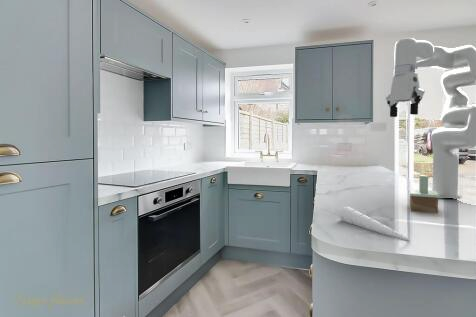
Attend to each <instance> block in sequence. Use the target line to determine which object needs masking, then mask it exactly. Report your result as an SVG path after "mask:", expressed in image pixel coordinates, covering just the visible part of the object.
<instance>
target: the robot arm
mask: <svg viewBox="0 0 476 317" xmlns="http://www.w3.org/2000/svg"><path fill="white" fill-rule="evenodd" d="M393 60H394V64H393V65H394V67H393V69H394V70H393V77H392V80H391V87H390V94H389V95H387V96H386V97H385V100H386V103H387V105H388V107H389V117H391V118H397V117H398V104H399V103H406V102H411V103H410V104H409V106H410V107H409V114H410V115H414V116H415V115H418V114H419V104H420V103H421V101H422V99H423V97H424V95H425V90H424V89H421V88H420V87H421V86H420V78H419V74H418V73H417V69H418V68H436V69H441V70H448V71H446V72H444V73H443V74H442V76H441V79H440V83H441V86H442V89H443V92H444V95H445V104H444V107H443V110H442V113H441V116H440V123H441V126H443V127H439V128H436V129H434V130H433V131H432V132H431V135H430V137H431V138H430V140H431V146H432V157H433V158H432V188H431V189H432V190H431V191H436V192H437V193H438V194H439V198H438V199H442V198H453V199H452V200H460V199H462V195H461V194H458V185H459V184H458V182H459V180H458V179H459V157H458V155H457V153H456V151H454V149H459V150H460V149H463V150H470V149H474V148H476V104H469V105H468V103H469V97H468V96H467V94H466V93H465V92H464V91H463V90H462V89H461V88H465V87H473V86H476V48H475V46H473V45H471V44H468V45H463V46H459V47H455V48H448V47H444V46H439V45H438V46H437V45H436V46H434V45H433V44H432V43H431V42H430V41H428V40H416V39H415V38H413V37H406V38H401V39H399V40H397V41H396V42H395V44H394V53H393ZM466 66H467V67H466ZM461 67H463V68H461ZM450 69H451V70H450Z"/></svg>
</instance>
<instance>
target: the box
mask: <svg viewBox="0 0 476 317" xmlns="http://www.w3.org/2000/svg"><path fill="white" fill-rule="evenodd" d="M409 209H410V212H419V213H431V214H438V213H439V198H437V197H421V196H410V195H409Z"/></svg>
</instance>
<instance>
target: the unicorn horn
mask: <svg viewBox="0 0 476 317" xmlns="http://www.w3.org/2000/svg"><path fill="white" fill-rule="evenodd" d="M338 214H339V215H338V217H339V219H340V221H341V222H344V223H347V224H351V225H354V226H358V227H360V228H364V229H366V230H370V231H373V232H376V233H379V234H383V235H386V236H389V237H391V238H392V237H393V238H396V239H399V240H403V241H407V242H410V241H411V239H409V238H408V237H406V236H404V234H402V233H400V232H398V231H396V230H393V228H391V227H389V226H387V225H386V224H383V223H382V222H380V221H377V220H375V219H373V218H372V217H370V216H368V215H366V214H364V213H361V212H360V211H357V210H356V209H354V208H352V207H351V206H350V207H349V206H344V207H341V209H340V210H339V212H338Z"/></svg>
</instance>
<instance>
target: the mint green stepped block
mask: <svg viewBox="0 0 476 317" xmlns="http://www.w3.org/2000/svg"><path fill="white" fill-rule="evenodd" d="M408 192H409V197H410V196H421V197H437V198H438V199H440V198H439V194H438V193H437V192H436V191H432V190H429V176H428V175H427V174H419V178H418V189H413V188H411V189H410V188H409V189H408Z"/></svg>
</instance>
